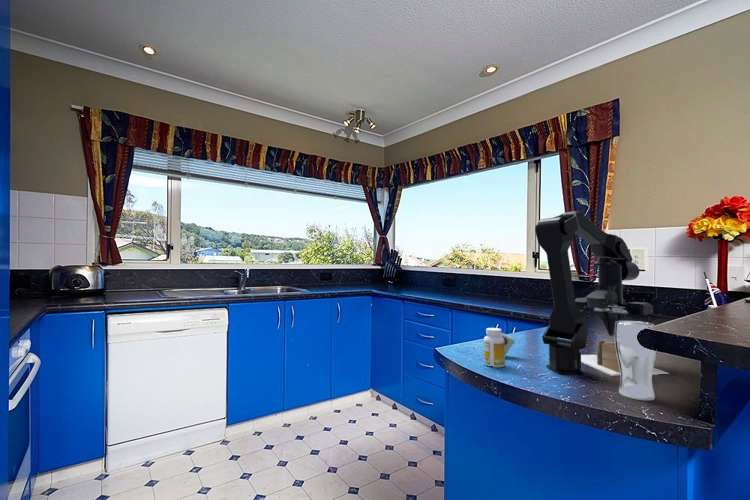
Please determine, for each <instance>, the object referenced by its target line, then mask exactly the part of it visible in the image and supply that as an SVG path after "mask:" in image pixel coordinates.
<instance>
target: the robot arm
mask: <svg viewBox="0 0 750 500" xmlns="http://www.w3.org/2000/svg"><path fill="white" fill-rule="evenodd" d="M534 227H535V228H534V231H535V236H536V239H537V242H538V244H539V246H540V247H541V249H543V251H544V252H545V254H546V257H547V258H546V260H547V266H548V274H549V279H550V286H551V292H552V298H553V309H552V311H551V313H550V315H549V324H548V325H547V328H546V330H545V331H544V333H543V334H542V336H541V339H542V342H543V344H545V345H548V354H549V355H548V359H549V361H548V363H549V364H546V365H545V367H546V368H547V369H550V370H552V372H553V371H554V373H558V374H560V375H563V374H565V375H566V374H567V375H571V374H572V375H574V374H575V375H576V374H577V375H578V374H584V373H585V371H584V370H582V362H581V355H582V353H581V352H580V350H584V349H586V346H587V340H588V336H589V328H588V326H589V324H588V320H587V313H586V312H587V311H586V310H583V309H585V308H586V307H588V308H590V309H592V308H594V309H593V310H592V312H593V313H596V314H597V315H598V316H599V317H600V319H601V320H602V322H603V325H604V327H605V329H606V331H607V333H608V335H609V336H611V337H615V324H616V323H615V322H616V321H624V318H625V317H626V315H630V314H631V315H639V316H644V315H653V314H654V307H653V304H651V303H649V302H643V301H642V302H639V301H633V302H627V303H626V298H625V299H624V298H623V289H626V287H625V284H623V282H624V281H634V280H636V278H638V277H639V276H640V268H639V267H638V265H637V263H635V262H633V257H632V255H631V252H630V250H629V248H628V246H627V243H626V241H624V239H623V238H621V237H620V236H617V235H616V234H611V233H607V232H605V231H604V230H603V229H601V228H600V227H599V226H597V224H595V223H594V222H593V221H592V220H590V219H589V218H588V217H587V216H586V215H585V213H584V211H582V210H581V211H580V210H573V211H565V212H563V213H560V214H559V215H556V216H553V217H548V218H542V219H540V220H539V221H538V222H537V224H536V225H535V226H534ZM574 234H576V235H577V236H578V237H579V238H580V239H582V240H583V241H584V242H586V243H587V244H588V245H589V246H590V252H591V253H593V254H594V256H595V257H596V258H598V260H596V261H595V262H594V266H597V276H598V277H597V278H598V280H597V282H598V284H595V289H594V291H592V292H590V293H589V294H588V295H586V296H585V297H578V298H577V297H576V296H575V292H574V284H573V278H572V271H571V270H572V269H571V264H570V257H569V249H570V246H571V245H572V243H573V240H574ZM575 297H576V298H575Z"/></svg>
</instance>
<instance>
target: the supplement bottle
mask: <svg viewBox="0 0 750 500" xmlns="http://www.w3.org/2000/svg"><path fill="white" fill-rule="evenodd" d="M485 332H486V335H485V336H484V337H483V364H484V363H485V364H486V365H489V366H493V367H492V368H503V367H505V366H506V355H505V343H504V339H503V338H502V337H501V335H502V333H503V332H502V329H501V328H497V327H487V328H486V329H485ZM485 364H484V365H485ZM486 365H485V366H486ZM489 366H488V367H489Z"/></svg>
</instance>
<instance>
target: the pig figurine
mask: <svg viewBox="0 0 750 500" xmlns="http://www.w3.org/2000/svg"><path fill="white" fill-rule="evenodd" d="M501 337H502V338H503V339H504V343H505V356H506V355H507V354H508V353H509V351H510V349H511V348H512V346H513V345H514V344H515V342H516V340H515V338H513V337H510V336H508V335H507V334H506V333H503V332H502V335H501Z"/></svg>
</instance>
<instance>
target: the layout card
mask: <svg viewBox="0 0 750 500" xmlns="http://www.w3.org/2000/svg"><path fill="white" fill-rule="evenodd" d="M581 364H584V365H586V366H589V367H591V368H593V369H596V370H597V371H600V372H602V373H605V374H607V375H609V376H612V377H621V374H620V373H618V372H615V371H613V370H611V369H608V368H606V367H603V366H601V365H598V364H597V354H581ZM658 374H669V375H670V373H669V372H667V371H664V370H661V369H658V368H655V367H654V368H653V373H652V376H659V375H658Z"/></svg>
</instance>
